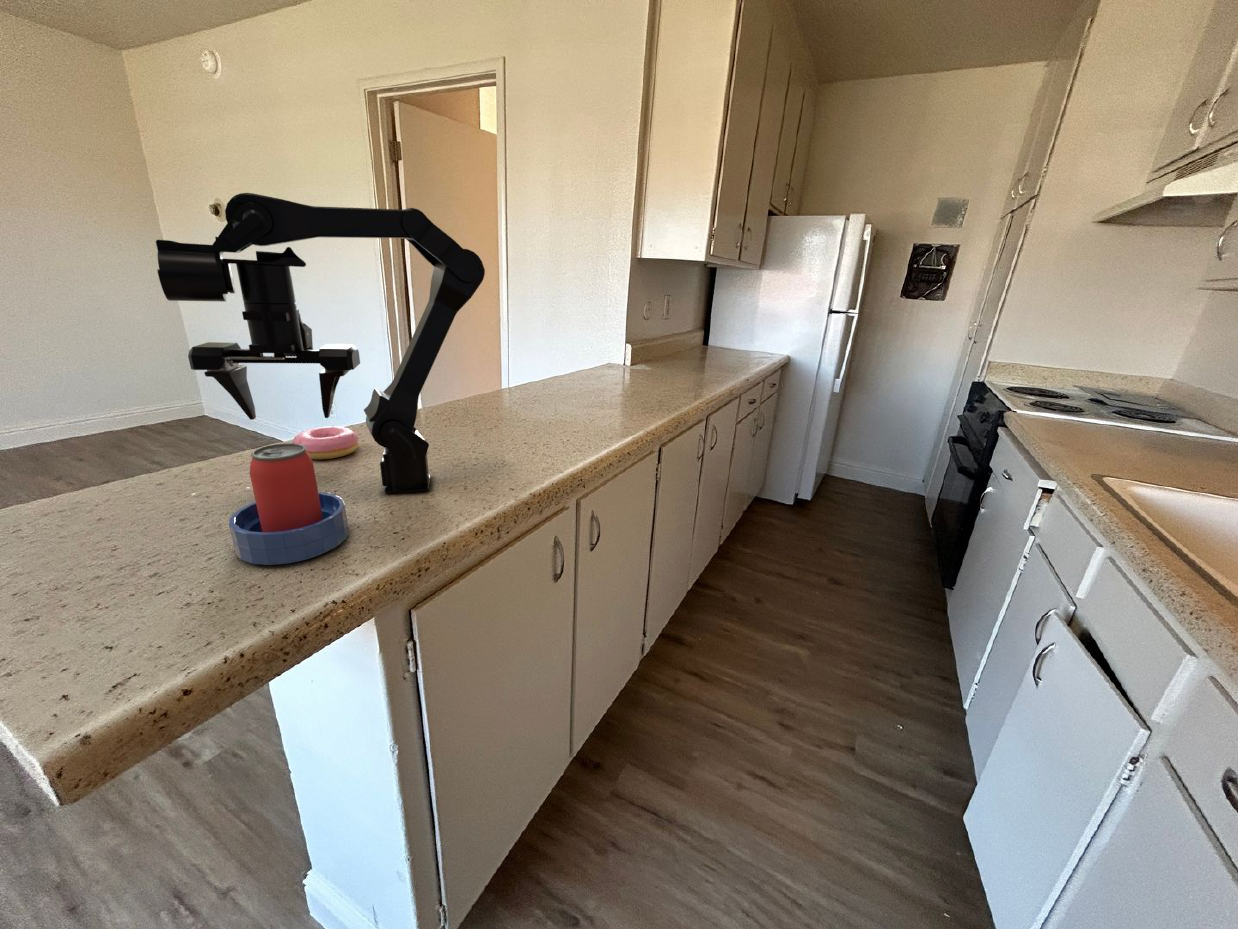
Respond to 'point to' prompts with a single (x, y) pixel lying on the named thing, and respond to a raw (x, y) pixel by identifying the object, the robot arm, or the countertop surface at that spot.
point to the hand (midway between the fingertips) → (290, 418)
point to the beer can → (284, 487)
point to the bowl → (288, 535)
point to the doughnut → (327, 442)
